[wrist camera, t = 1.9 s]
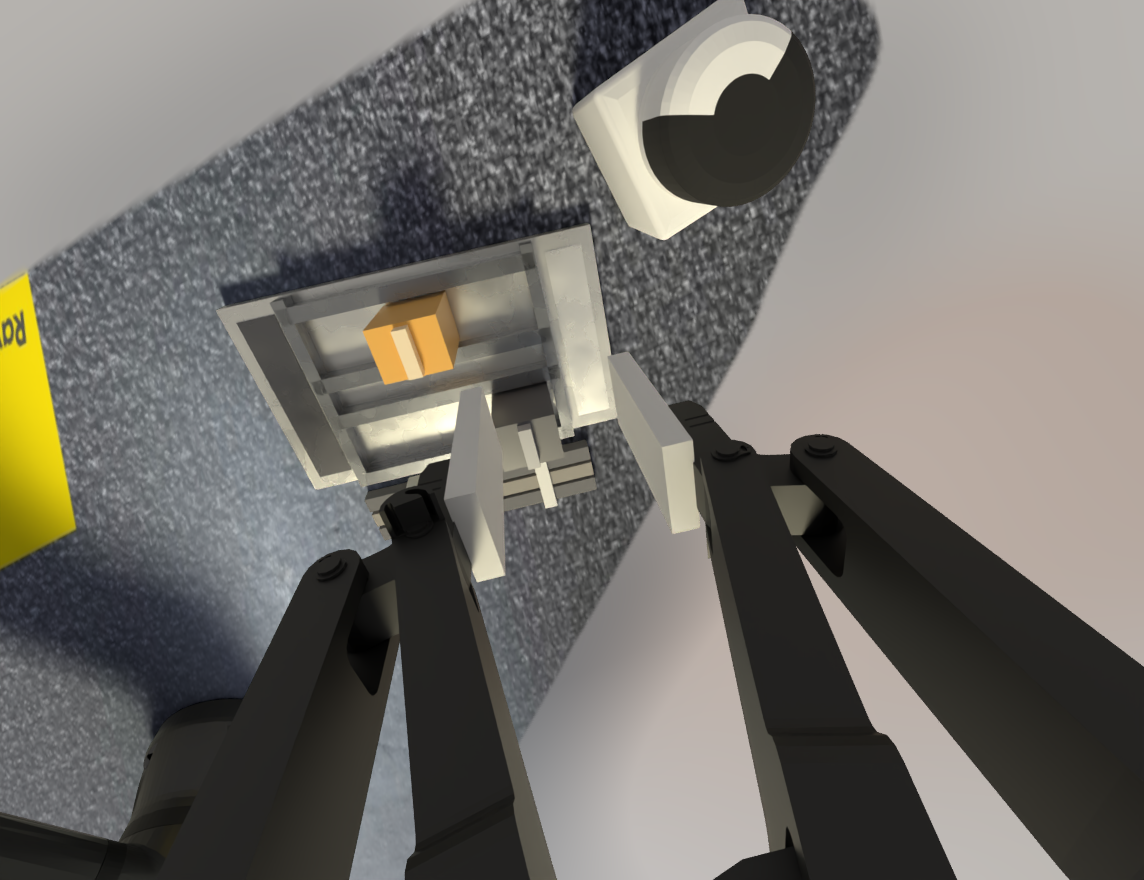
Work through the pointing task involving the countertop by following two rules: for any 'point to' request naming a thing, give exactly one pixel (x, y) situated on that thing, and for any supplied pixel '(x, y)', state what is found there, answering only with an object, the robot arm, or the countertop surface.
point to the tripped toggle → (413, 338)
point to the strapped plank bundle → (520, 483)
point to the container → (701, 118)
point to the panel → (430, 404)
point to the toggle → (526, 427)
